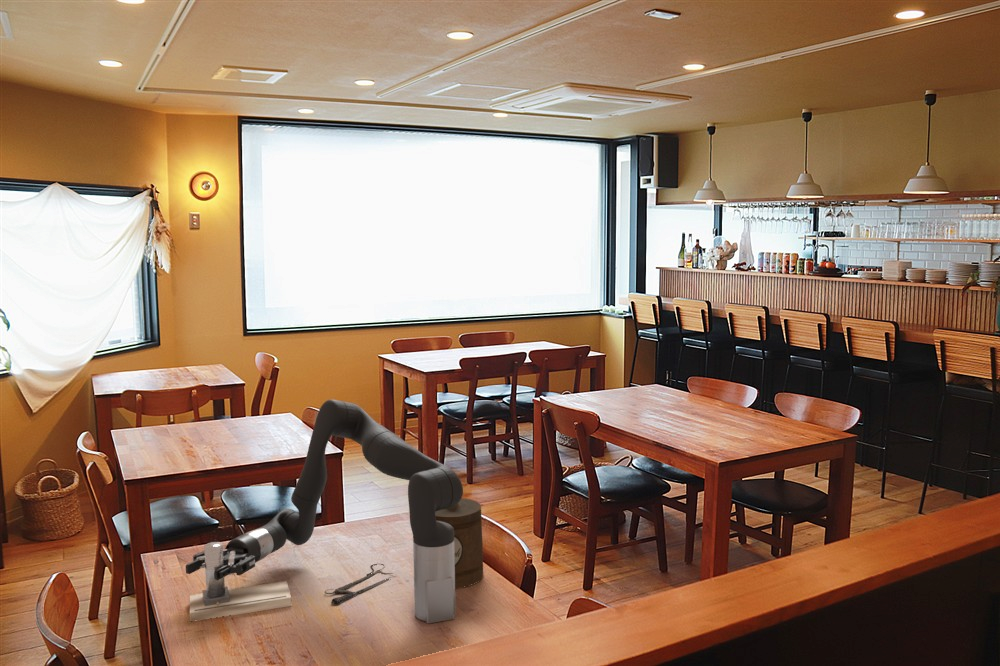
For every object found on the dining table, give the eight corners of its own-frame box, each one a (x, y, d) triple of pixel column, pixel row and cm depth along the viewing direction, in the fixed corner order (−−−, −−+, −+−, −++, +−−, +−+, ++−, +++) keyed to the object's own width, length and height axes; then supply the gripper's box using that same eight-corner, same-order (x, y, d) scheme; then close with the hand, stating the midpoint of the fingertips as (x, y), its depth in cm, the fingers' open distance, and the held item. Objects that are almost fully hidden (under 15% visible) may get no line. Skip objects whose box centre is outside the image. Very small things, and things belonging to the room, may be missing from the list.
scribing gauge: (230, 603, 189) (227, 549, 187) (205, 608, 187) (202, 553, 185) (227, 592, 195) (224, 539, 194) (202, 596, 193) (199, 542, 191)
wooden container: (411, 577, 208) (409, 492, 205) (454, 560, 218) (453, 479, 216) (453, 594, 198) (451, 505, 195) (495, 575, 208) (494, 490, 206)
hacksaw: (335, 607, 192) (335, 601, 192) (305, 596, 198) (305, 590, 198) (406, 573, 211) (406, 567, 211) (377, 564, 217) (377, 558, 217)
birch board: (291, 605, 192) (291, 597, 192) (190, 621, 185) (189, 613, 184) (286, 588, 202) (286, 580, 201) (190, 603, 194) (189, 595, 194)
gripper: (226, 529, 205) (176, 552, 190) (272, 537, 199) (224, 561, 185) (228, 558, 206) (178, 583, 191) (274, 567, 200) (226, 594, 185)
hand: (201, 572), depth 188 cm, fingers open, 8 cm apart
